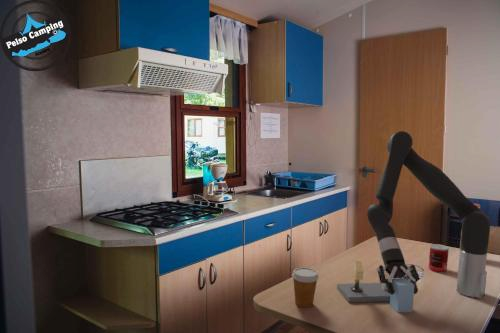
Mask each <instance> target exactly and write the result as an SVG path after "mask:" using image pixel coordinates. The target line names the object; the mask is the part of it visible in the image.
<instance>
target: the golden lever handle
mask: <svg viewBox="0 0 500 333" xmlns="http://www.w3.org/2000/svg"><path fill="white" fill-rule="evenodd" d="M360 280H361V281H363V280H364V268H363V264H362V260H354V282H353V283H354V288H355V289H359V283H360Z"/></svg>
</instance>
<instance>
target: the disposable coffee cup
mask: <svg viewBox="0 0 500 333" xmlns="http://www.w3.org/2000/svg"><path fill="white" fill-rule="evenodd" d="M291 275H292V278H293V280H292V281H293V289H294V290H293V291H294V300H295V301H294V302H295V305H296V306H298V307H301V308H311V307H312V306H313V305H314V301H315V294H316V290H317V289H316V288H317V282H318V279H319V277H320V276H319V275H318V271H317V270H315V269H313V268H310V267H297V268H294V270H293V272H292V274H291Z"/></svg>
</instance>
